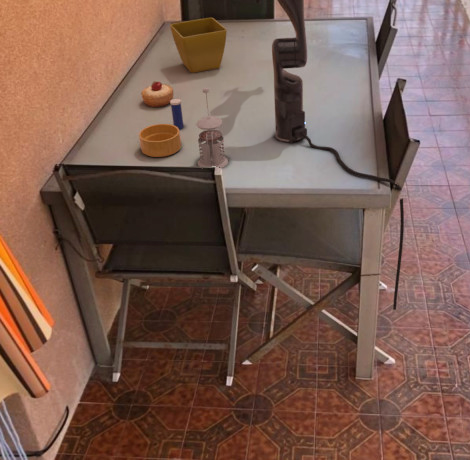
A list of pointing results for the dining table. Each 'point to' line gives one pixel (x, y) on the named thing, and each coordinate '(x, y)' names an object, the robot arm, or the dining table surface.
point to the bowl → (160, 140)
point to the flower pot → (200, 43)
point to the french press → (210, 141)
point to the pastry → (157, 94)
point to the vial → (177, 113)
